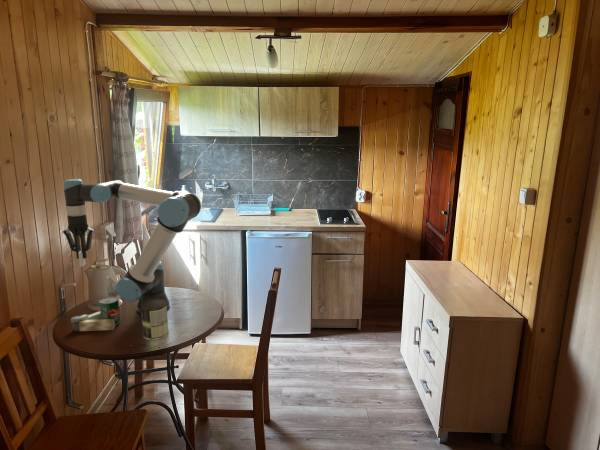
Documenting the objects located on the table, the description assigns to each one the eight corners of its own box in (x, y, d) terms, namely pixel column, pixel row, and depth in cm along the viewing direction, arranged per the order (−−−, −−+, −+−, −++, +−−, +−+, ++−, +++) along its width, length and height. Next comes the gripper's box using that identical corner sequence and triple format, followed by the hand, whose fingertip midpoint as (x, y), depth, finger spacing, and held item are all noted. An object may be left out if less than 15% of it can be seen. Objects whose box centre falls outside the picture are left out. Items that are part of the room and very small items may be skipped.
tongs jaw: (75, 332, 185) (73, 321, 184) (70, 329, 187) (68, 318, 186) (113, 317, 199) (112, 307, 197) (108, 315, 201) (107, 305, 200)
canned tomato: (105, 319, 198) (102, 296, 195) (122, 318, 198) (120, 296, 196) (98, 327, 190) (96, 303, 188) (117, 326, 191) (114, 303, 188)
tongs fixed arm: (72, 331, 186) (70, 323, 185) (75, 328, 189) (74, 319, 188) (113, 330, 187) (112, 321, 186) (115, 327, 190) (114, 318, 189)
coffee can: (139, 340, 178) (136, 308, 175) (148, 328, 189) (145, 298, 185) (164, 340, 178) (161, 308, 175) (172, 329, 188) (169, 298, 185)
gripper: (95, 212, 195) (100, 262, 201) (65, 213, 195) (71, 263, 200) (88, 215, 188) (94, 267, 193) (57, 216, 187) (64, 268, 192)
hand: (82, 265), depth 197 cm, fingers closed
